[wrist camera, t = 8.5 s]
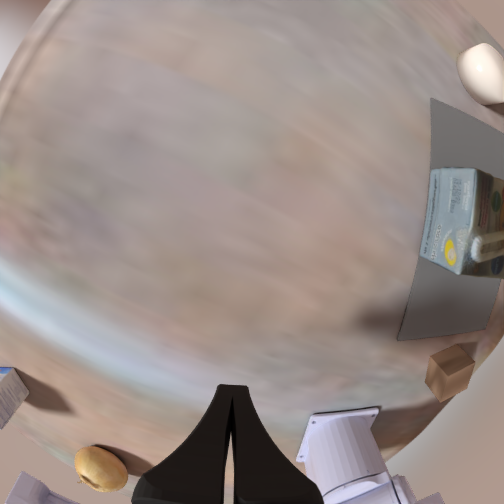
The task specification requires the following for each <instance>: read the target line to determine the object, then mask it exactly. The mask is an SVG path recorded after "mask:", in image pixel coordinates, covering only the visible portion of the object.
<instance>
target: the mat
mask: <svg viewBox="0 0 504 504" xmlns="http://www.w3.org/2000/svg"><path fill="white" fill-rule="evenodd" d="M442 167H464V168H469V167H472V168H477V169H480V170H482V171H484V172H486V173H490V174H491V175H492V176H494V177H496V178H500V179H502V180H504V134H503V133H502V132H500V131H498V130H497V129H495V128H493V127H491V126H490V125H488V124H486V123H484V122H482V121H480V120H478V119H476V118H475V117H473V116H471V115H469V114H467V113H464V112H462V111H460V110H458V109H456V108H454V107H452V106H449V105H447V104H445V103H442V102H440V101H438V100H435V99H433V98H431V162H430V174H431V170H432V169H437V168H442ZM429 188H430V178H429ZM428 198H429V189H428ZM427 206H428V199H427ZM426 214H427V208H426ZM425 221H426V216H425ZM424 227H425V223H424ZM423 233H424V229H423ZM422 238H423V236H422ZM421 243H422V242H421ZM420 249H421V247H420ZM500 282H501V279H499V278H485V277H473V276H468V275H457V274H455V273H452V272H450V271H448V270H446V269H444V268H442V267H440V266H438V265H436V264H434V263H432V262H430V261H429V260H427V259H425V258H422V257H421V256H420V252H419V258H418V263H417V267H416V272H415V276H414V281H413V285H412V289H411V293H410V297H409V301H408V304H407V308H406V312H405V315H404V319H403V322H402V325H401V329H400V332H399V335H398V338H397V340H398V341H401V340H412V339H421V338H430V337H438V336H446V335H453V334H460V333H466V332H472V331H478V330H483V329H485V328H486V326H487V323H488V320H489V317H490V314H491V311H492V308H493V305H494V302H495V299H496V296H497V292H498V289H499V285H500Z"/></svg>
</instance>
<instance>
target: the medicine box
mask: <svg viewBox="0 0 504 504" xmlns="http://www.w3.org/2000/svg"><path fill="white" fill-rule="evenodd" d="M28 394H29V391H28V389H27V388H26V386H25V385H24V383H23V381H22V380H21V378H20V377H19V375H18V374H17V372H16V371H15V369H14V368H4V367H0V429H1V430H2V429H3V428H4V427H5V425H6V424H7V423H8V421H9V420H10V419H11V417H12V416H13V414H14V413H15V412H16V410H17V409H18V408H19V406H20V405H21V404H22V402H23V401H24V400H25V398H26V397H27V396H28Z"/></svg>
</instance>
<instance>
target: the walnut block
mask: <svg viewBox="0 0 504 504" xmlns="http://www.w3.org/2000/svg"><path fill="white" fill-rule="evenodd" d="M474 365H475V361H474V360H473V359H472V358H471V357H470V356H469V355H468V354H467V353H466V352H465V351H464V350H463V349H461V348H460V347H459V346H458V345H457V344H455V345H453V346H451V347H449V348H447V349H445V350H443V351H440V352H438V353H436V354H434V355H431V356H430V359H429V364H428V369H427V374H426V379H425V383H426V384H427V386H428V387H429V388H430V389H431V391H432V392H433V393H434V395H435V396H436V398H437V399H438V400H439V402H440V403H441V402H443V401H444V400H446V399H448V398H450V397H452V396H454V395H456V394H458V393H460V392H461V391H463V390H465V389H467V387H468V384H469V381H470V378H471V375H472V372H473V368H474Z"/></svg>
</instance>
